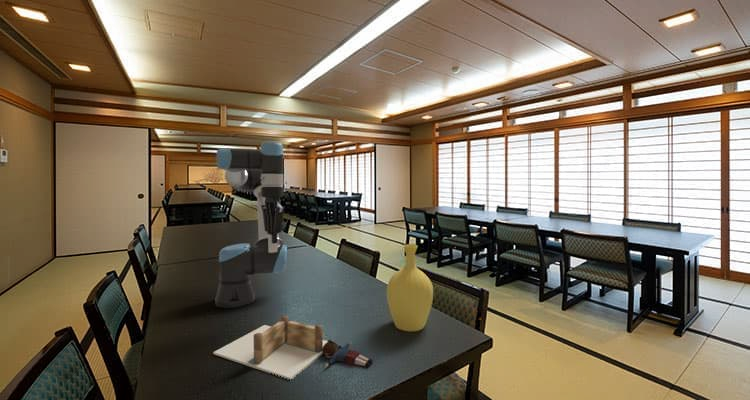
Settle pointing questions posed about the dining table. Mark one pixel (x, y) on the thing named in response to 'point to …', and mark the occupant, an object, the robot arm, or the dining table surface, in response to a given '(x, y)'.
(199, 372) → the dining table surface
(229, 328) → the dining table surface
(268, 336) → the fence wing
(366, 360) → the toy
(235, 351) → the card
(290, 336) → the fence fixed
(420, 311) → the vase
